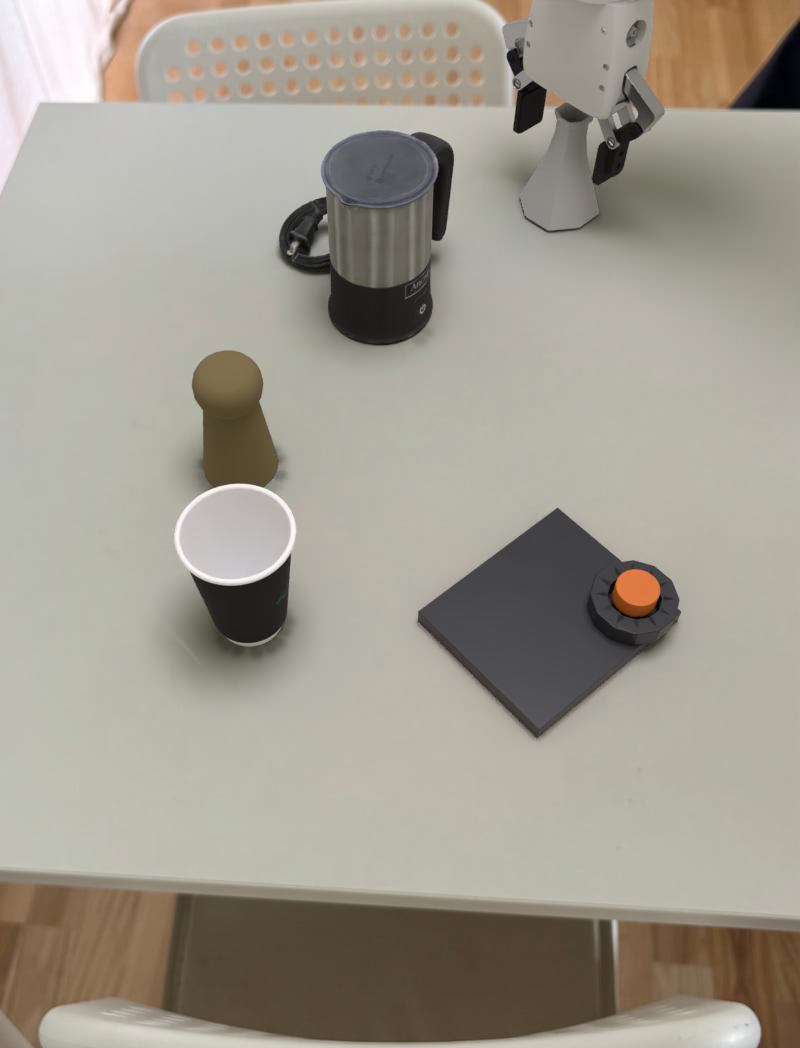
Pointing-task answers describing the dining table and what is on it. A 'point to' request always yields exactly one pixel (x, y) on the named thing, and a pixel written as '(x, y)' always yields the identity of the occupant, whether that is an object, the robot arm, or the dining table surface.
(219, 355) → the brown pawn
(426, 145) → the milk frother
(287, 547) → the dixie cup
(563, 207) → the flask
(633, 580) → the power button
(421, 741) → the dining table surface
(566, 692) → the dark grey base plate
